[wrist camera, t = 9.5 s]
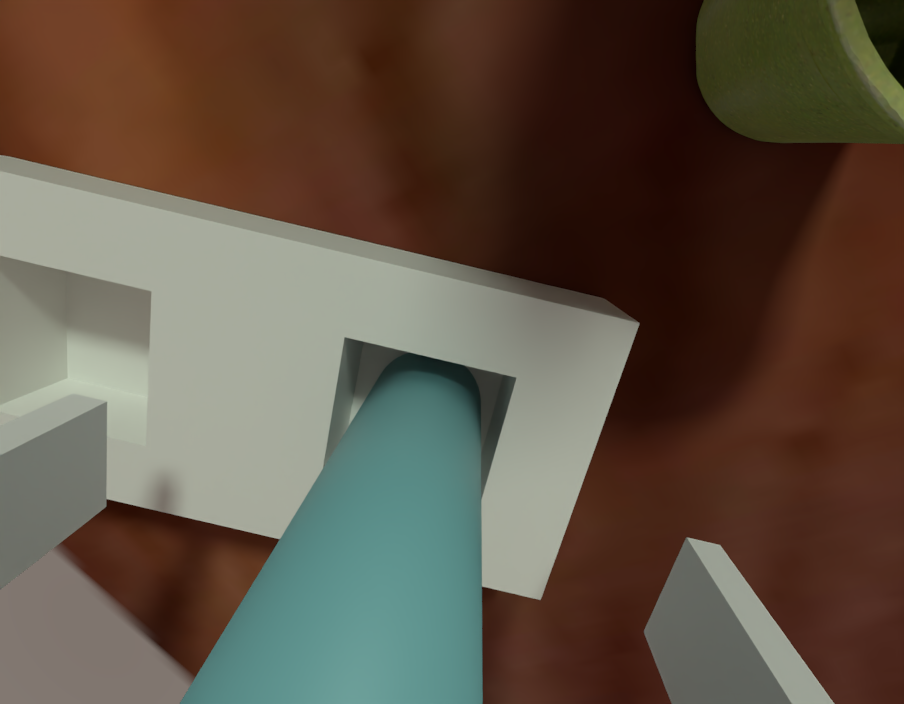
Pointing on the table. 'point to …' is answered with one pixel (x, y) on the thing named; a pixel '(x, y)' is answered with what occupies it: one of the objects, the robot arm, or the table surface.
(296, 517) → the teal pin
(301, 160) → the table surface
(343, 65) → the table surface
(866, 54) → the plant pot
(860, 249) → the table surface
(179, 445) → the hole block
